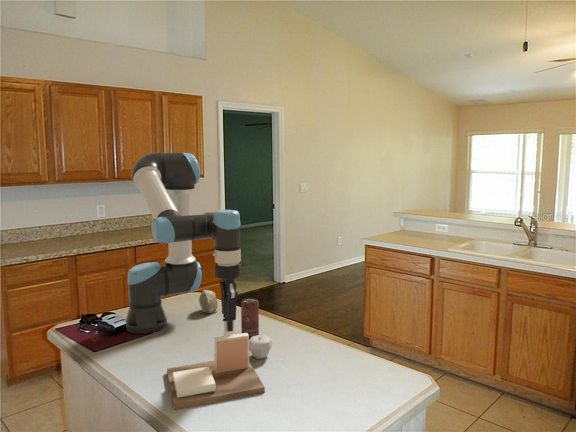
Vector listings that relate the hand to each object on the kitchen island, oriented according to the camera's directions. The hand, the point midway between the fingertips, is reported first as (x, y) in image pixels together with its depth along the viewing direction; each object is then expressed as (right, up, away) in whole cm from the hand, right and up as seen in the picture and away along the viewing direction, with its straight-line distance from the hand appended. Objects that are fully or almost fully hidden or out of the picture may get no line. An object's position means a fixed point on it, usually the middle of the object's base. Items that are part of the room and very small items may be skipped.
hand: (229, 339), depth 132 cm
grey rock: (-15, -2, +50) cm, 53 cm away
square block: (-10, -7, -7) cm, 14 cm away
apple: (+9, -8, +9) cm, 15 cm away
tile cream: (+1, -8, -2) cm, 8 cm away
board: (-4, -10, -7) cm, 13 cm away
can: (+4, -6, +24) cm, 25 cm away
